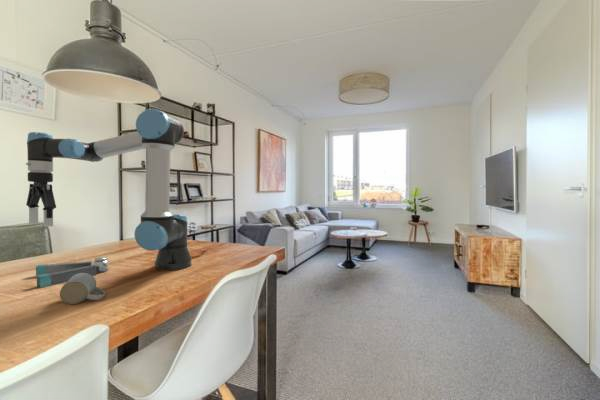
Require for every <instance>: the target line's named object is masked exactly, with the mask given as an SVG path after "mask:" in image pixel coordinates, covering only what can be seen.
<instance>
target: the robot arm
mask: <svg viewBox="0 0 600 400" xmlns="http://www.w3.org/2000/svg"><path fill="white" fill-rule="evenodd" d="M135 129H136V131H135V132H131V133H127V134H123V135H122V134H121V135H117V136H113V137H109V138H106V139H99V140H96V141H92V142H88V143H87V142H81V141H80V140H79V139H74V138H54V137H53V135H52V134H51V133H46V132H37V131H31V132H28V134H27V140H26V145H27V162H26V163H25V166H27V171H29V172H27V181H28V182H30V183H29V190H28V194H27V200H26V204H25V205H26V206H27V207H28V224H30V225H33V224H39V208H40V206H39V202H40V200H41V203H42V204H43V208H42V211H43V227H45V228H46V227H54V210H55V209H56V208H57V205H56V201H55V197H54V192H53V185H52V184H50V183H52V182H53V181H54V175H53V172H54V159H55V158H57V159H58V158H59V159H62V158H63V159H71V160H80V161H87V162H93V163H94V162H101V161H103V160H104V159H105V158H109V157H114V156H119V155H123V154H127V153H130V152H131V153H132V152H135V151H140V150H145V196H144V197H145V201H144V202H145V203H144V205H145V207H144V208H145V209H144V211H143V213H141V215H140V223H139V224H138V225H137V226H136V228H135V230H134V239H135V242H136V244H137V245H138V246H139V247H140V248H142V249H143V250H146V251H150V252H151V251H157V254H156V257H155V261H154V268H155V269H156V270H158V271H159V270H160V271H175V270H176V271H177V270H182V269H186V268H189V267H191V266H192V257H191V255H190V252H189V248H188V217H187V215H185V214H176V213H175V214H174V213H172V212H171V211H170V197H171V196H170V193H171V191H170V188H171V187H170V186H171V185H170V184H171V183H170V182H171V181H170V180H171V152H172V150H173V149H175V145H177V144H179V143H180V142H181V141H182V140H183V138H184V135H185V129H184V126H183V124H182V122H181V121H180V120H178V119H177V118H176V117H173V116H171V115H170V114H168V113H167V112H165V111H163V110H160V109H156V108H148V109H145V110H143V111H142V112H140V114H139V115H138V116H137V118H136V121H135Z"/></svg>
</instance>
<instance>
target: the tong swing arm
mask: <svg viewBox="0 0 600 400" xmlns="http://www.w3.org/2000/svg"><path fill="white" fill-rule="evenodd" d="M106 259H107V257H106V256H100V257H95V258H94V261H104V260H106ZM90 265H93V260H89V261H78V262H77V261H75V262H64V263H63V262H62V263H52V264H48V263H46V264H38V265H36V266H35V276H36V277H37V275H42V274H51V273H55V272H60V271H65V270H70V269H75V268H80V267H85V266H90Z"/></svg>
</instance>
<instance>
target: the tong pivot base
mask: <svg viewBox="0 0 600 400" xmlns="http://www.w3.org/2000/svg"><path fill="white" fill-rule="evenodd" d="M108 271H109V259H107V258H106V260H104V261H95V260H92V265H90V266H85V267H80V268H75V269H70V270H65V271H60V272H55V273H51V274H42V275H37V276H36V287H37V288H40V289H41V288H45V287H50V286H53V285H58V284H63V283H66V282H67V281H68V280H69V279H70V278H71V277H72V276H74V275H76V274H78V273H87V274H90V275H92V276H93V277H94V276H96V275H97V274H102V273H106V272H108Z"/></svg>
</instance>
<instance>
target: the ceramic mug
mask: <svg viewBox="0 0 600 400" xmlns="http://www.w3.org/2000/svg"><path fill="white" fill-rule="evenodd" d="M93 293H97V294H98V295H96V294H93ZM105 294H106V292H105V290H103V289H102V288H100V287H97V280H96V278H95V276H94V275H93V276H92V275H90V274H87V273H78V274H76V275H74V276H72V277H71V278H70V279H69V280H68V281H67V282H64V284H63V285H62V286H61V289H60V291H59V298H60V300H61V301H62V302H63V303H65V304H68V305H78V304H80V303H82V302H84V301H86V300H93V301H100V300H102V299H103V298H104V296H105Z"/></svg>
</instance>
